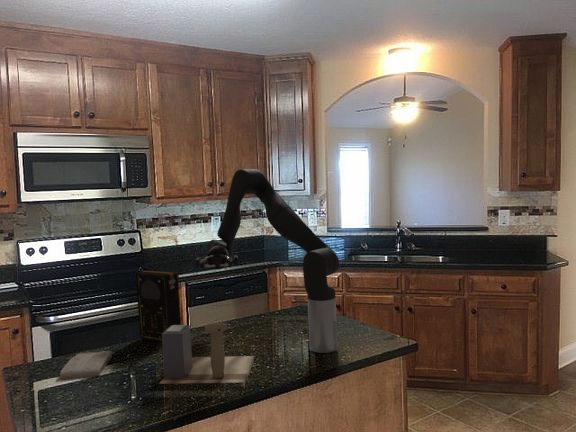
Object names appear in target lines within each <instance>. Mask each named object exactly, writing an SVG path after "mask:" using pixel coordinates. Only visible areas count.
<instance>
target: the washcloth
mask: <svg viewBox="0 0 576 432" xmlns="http://www.w3.org/2000/svg"><path fill="white" fill-rule="evenodd" d="M112 354H113V352H112V350H105V351H97V352H88V351H87V352H81V353H77V354H75V355H74V356H73V357H70V359H69V360H68V361H67V362H66V364H65V365H64V366H63V368H62V369H61V370H60V374H59V379H61V380H67V379H70V380H71V379H77V378H78V379H79V378H89V376H91V377H97V376H100V375H101V374H102V373H103V371H104V370H105V368H106V367H107V364H108V363H109V362H110V360H111V359H112V357H113V355H112Z"/></svg>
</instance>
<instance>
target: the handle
mask: <svg viewBox="0 0 576 432" xmlns="http://www.w3.org/2000/svg"><path fill="white" fill-rule="evenodd" d="M227 330H228V323H227V322H223V321H222V322H213V323H208V324H206V325H204V331H205V333H207V334H210V354H209V355H210V356H209V357H211V368H212V375H213V377H214V378H221V377H223V376H224V372H223V371H224V367H225V357H226V355H225V349H224V339H223V333H224V332H225V331H227Z"/></svg>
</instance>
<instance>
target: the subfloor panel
mask: <svg viewBox="0 0 576 432" xmlns="http://www.w3.org/2000/svg"><path fill="white" fill-rule="evenodd" d="M254 361H255V356H254V355H246V356H245V355H244V356H243V355H242V356H241V355H239V356H237V355H236V356H232V355H231V356H225V367H224V371H223V372H224V376H223V377H221V378H214V377H213V375H212V368H211V357H210V356H194V357H193V356H192V369H191V370H190V372H189V373H188V374H187V376H186V377H185V378H165V377H162V379H161V380H160V382H159V383H158V384H161V385H162V384H164V385H165V384H172V385H173V384H222V383H224V384H226V383H227V384H228V383H229V384H232V383H233V384H235V383H238V384H239V383H241V384H240V387H245V386H246V385H245V384H246V382H247V380H248V378H249V374H250V372H251V370H252V366H253V364H254Z"/></svg>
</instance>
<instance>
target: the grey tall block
mask: <svg viewBox="0 0 576 432" xmlns="http://www.w3.org/2000/svg"><path fill="white" fill-rule="evenodd" d="M161 343H162V357H163V358H162V359H163V361H162V362H163V371H164V372H163V373H164V377H165V378H185V377H186V376H187V374H188V373H189V372H190V370H191V369H192V357H193V356H192V355H193V353H192V337H191V325H190V324H189V325H188V324H181V325H172V326H170V327H169V328H167V329H166V330H165V331H164V332H163V333H162V342H161ZM164 377H163V378H164Z"/></svg>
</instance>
